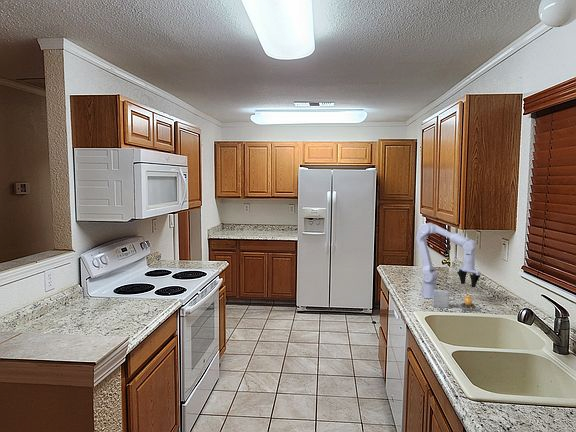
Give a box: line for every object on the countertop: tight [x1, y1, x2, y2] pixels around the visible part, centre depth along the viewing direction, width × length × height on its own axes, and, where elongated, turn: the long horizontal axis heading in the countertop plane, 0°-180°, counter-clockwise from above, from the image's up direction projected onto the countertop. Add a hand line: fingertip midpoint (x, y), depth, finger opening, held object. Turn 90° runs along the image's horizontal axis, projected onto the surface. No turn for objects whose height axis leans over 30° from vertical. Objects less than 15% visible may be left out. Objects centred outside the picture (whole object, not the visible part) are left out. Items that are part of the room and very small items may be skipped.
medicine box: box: [432, 289, 450, 309], centre depth 213 cm, size 8×4×9 cm, turn 74°
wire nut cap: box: [464, 294, 473, 306], centre depth 211 cm, size 3×3×6 cm
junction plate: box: [455, 302, 482, 312], centre depth 211 cm, size 10×9×2 cm
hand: (468, 285), depth 218 cm, fingers open, 7 cm apart
